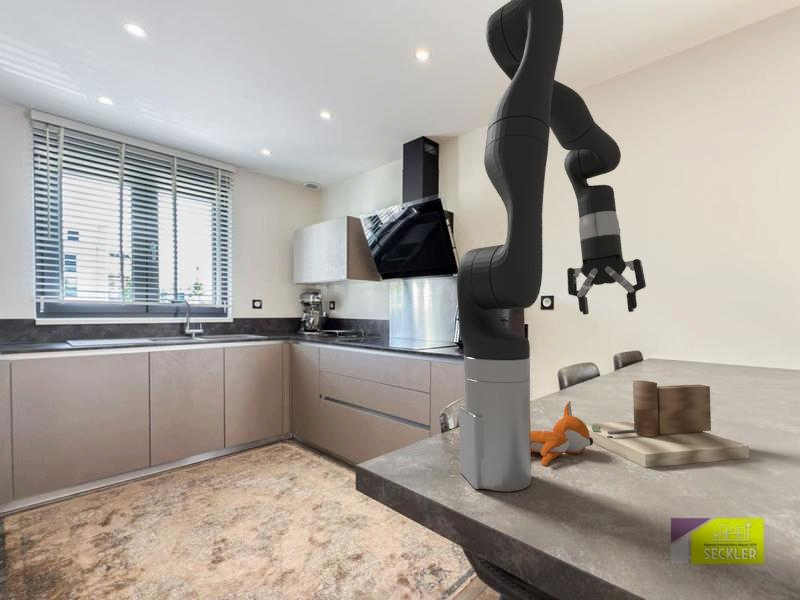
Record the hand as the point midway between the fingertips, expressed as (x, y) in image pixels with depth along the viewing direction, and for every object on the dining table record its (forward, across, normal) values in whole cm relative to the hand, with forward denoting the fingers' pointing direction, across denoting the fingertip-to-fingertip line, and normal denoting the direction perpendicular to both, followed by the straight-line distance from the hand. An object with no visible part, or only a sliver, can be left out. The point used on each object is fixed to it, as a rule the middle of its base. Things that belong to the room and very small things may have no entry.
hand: (607, 313), depth 80 cm
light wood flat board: (+24, +7, -8) cm, 26 cm away
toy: (+22, -11, -23) cm, 34 cm away
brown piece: (+22, +8, -8) cm, 24 cm away
